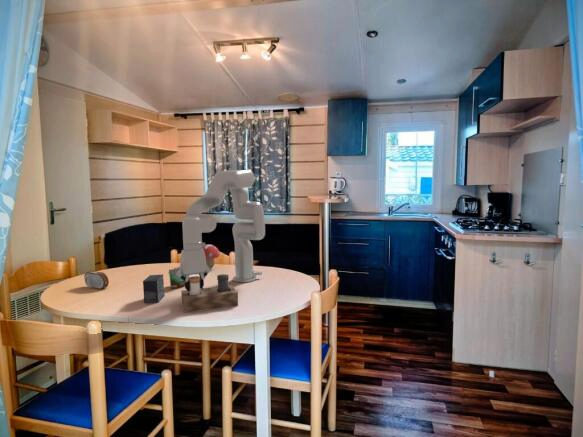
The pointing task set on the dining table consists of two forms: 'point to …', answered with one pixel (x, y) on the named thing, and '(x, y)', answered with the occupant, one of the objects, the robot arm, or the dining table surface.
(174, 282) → the food container
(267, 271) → the dining table surface
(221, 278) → the black plug
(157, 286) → the small box
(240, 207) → the robot arm
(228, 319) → the dining table surface
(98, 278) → the tin
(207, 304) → the block
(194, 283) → the orange-brown and white plug
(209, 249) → the decorative mushroom
